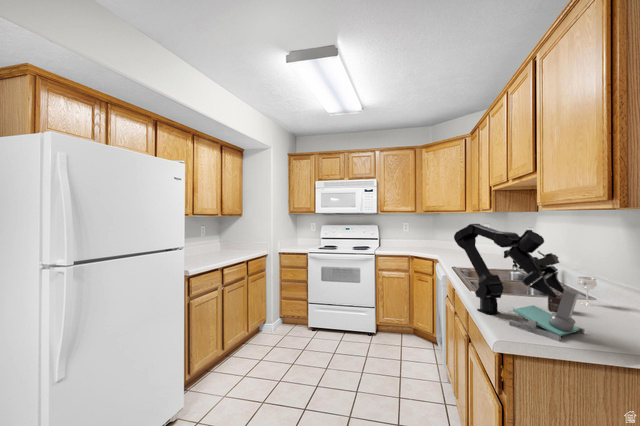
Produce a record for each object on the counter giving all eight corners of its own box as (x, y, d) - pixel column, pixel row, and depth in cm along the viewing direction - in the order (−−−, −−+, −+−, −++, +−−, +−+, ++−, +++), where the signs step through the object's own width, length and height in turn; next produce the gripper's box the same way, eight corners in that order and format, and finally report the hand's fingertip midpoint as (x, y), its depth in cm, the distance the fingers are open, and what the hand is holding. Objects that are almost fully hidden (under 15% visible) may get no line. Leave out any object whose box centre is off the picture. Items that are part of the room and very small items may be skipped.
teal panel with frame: (509, 324, 118) (509, 313, 118) (533, 319, 124) (533, 308, 124) (559, 341, 102) (558, 328, 102) (584, 333, 109) (584, 322, 109)
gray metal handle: (546, 324, 109) (556, 289, 106) (552, 319, 113) (563, 285, 110) (568, 334, 104) (580, 297, 101) (574, 328, 108) (586, 293, 105)
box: (548, 311, 134) (548, 294, 134) (547, 307, 139) (547, 291, 139) (566, 313, 131) (566, 296, 131) (564, 309, 136) (564, 292, 136)
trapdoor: (512, 313, 118) (513, 309, 118) (532, 309, 123) (533, 305, 123) (557, 339, 104) (559, 334, 104) (578, 333, 109) (579, 328, 109)
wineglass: (583, 305, 141) (582, 279, 141) (574, 301, 148) (574, 276, 148) (600, 306, 140) (600, 279, 140) (591, 302, 146) (591, 277, 146)
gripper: (532, 247, 107) (572, 285, 99) (550, 244, 119) (588, 278, 110) (507, 267, 114) (543, 305, 105) (527, 262, 125) (561, 295, 116)
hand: (560, 295), depth 109 cm, fingers open, 9 cm apart
